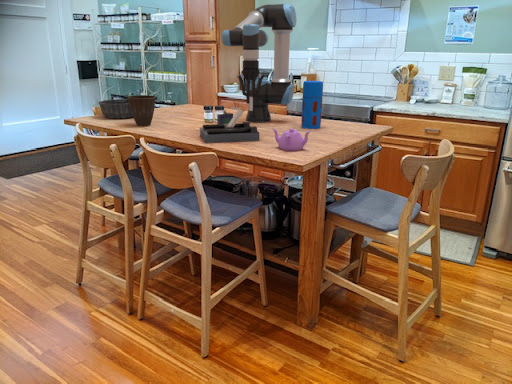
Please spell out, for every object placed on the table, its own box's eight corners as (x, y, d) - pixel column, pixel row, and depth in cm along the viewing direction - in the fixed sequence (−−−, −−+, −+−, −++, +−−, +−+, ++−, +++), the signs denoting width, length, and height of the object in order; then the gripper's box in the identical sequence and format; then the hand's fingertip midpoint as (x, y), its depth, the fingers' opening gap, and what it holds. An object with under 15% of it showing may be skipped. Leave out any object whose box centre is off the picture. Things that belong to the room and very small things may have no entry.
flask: (218, 131, 218) (218, 111, 215) (216, 130, 221) (215, 110, 217) (234, 130, 223) (233, 110, 219) (231, 129, 225) (231, 109, 222)
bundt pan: (90, 118, 254) (88, 102, 251) (119, 112, 277) (117, 97, 274) (125, 121, 245) (123, 104, 241) (152, 115, 268) (150, 99, 264)
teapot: (310, 150, 181) (311, 130, 178) (280, 152, 176) (281, 132, 174) (298, 144, 191) (299, 125, 188) (271, 146, 187) (271, 127, 184)
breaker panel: (250, 133, 215) (250, 121, 212) (259, 140, 198) (259, 127, 196) (200, 135, 208) (199, 123, 206) (205, 143, 192) (205, 129, 190)
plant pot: (151, 122, 243) (149, 94, 238) (161, 126, 232) (159, 97, 226) (126, 124, 235) (123, 96, 230) (135, 128, 223) (133, 98, 218)
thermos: (322, 126, 236) (325, 81, 227) (317, 129, 226) (320, 82, 218) (304, 124, 240) (306, 80, 232) (298, 127, 231) (300, 81, 222)
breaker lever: (228, 129, 204) (243, 108, 203) (230, 131, 200) (245, 109, 198) (225, 127, 204) (240, 106, 202) (227, 129, 199) (242, 107, 197)
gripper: (261, 59, 199) (261, 109, 207) (235, 59, 195) (235, 109, 203) (266, 60, 192) (265, 111, 200) (239, 59, 189) (239, 111, 196)
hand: (250, 110), depth 201 cm, fingers closed
